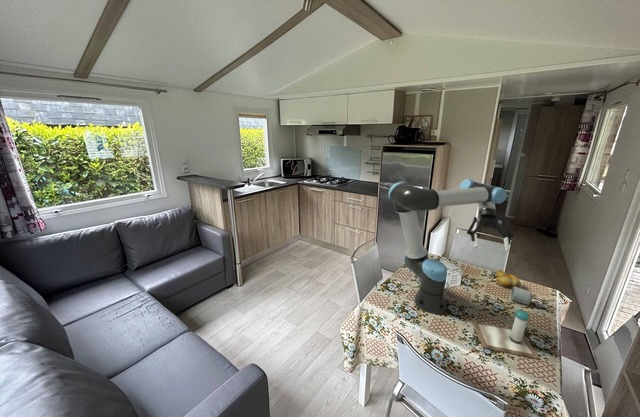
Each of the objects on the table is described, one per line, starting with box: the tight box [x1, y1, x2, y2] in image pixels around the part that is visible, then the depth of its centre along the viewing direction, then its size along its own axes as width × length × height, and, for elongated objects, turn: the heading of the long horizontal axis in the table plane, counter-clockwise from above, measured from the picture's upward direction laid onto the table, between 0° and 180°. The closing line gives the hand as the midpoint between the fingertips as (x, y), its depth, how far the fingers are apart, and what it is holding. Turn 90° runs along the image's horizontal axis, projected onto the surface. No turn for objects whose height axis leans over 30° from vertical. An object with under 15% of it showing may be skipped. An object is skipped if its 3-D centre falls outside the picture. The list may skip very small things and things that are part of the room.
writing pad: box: [472, 320, 541, 360], centre depth 111 cm, size 20×16×1 cm
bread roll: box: [495, 269, 522, 289], centre depth 150 cm, size 13×10×8 cm
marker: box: [510, 309, 530, 344], centre depth 108 cm, size 4×4×14 cm
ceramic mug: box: [510, 287, 533, 306], centre depth 137 cm, size 11×8×8 cm
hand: (491, 248), depth 124 cm, fingers open, 13 cm apart
